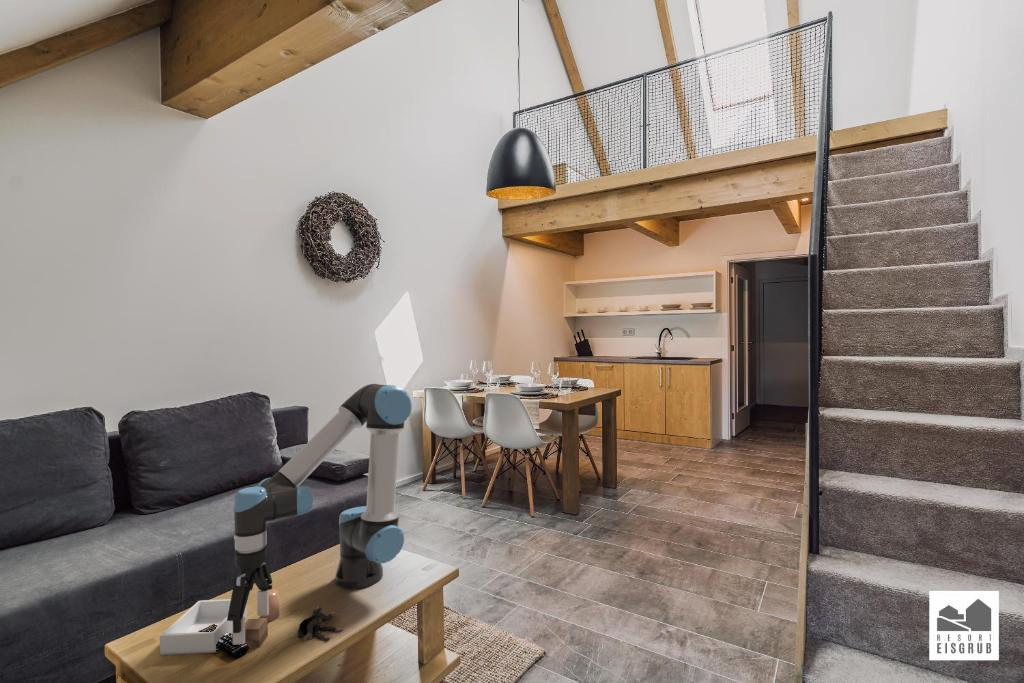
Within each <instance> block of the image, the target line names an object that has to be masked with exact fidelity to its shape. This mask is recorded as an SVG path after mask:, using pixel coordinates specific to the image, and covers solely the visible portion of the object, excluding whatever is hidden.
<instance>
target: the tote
mask: <svg viewBox="0 0 1024 683" xmlns="http://www.w3.org/2000/svg"><path fill="white" fill-rule="evenodd" d="M230 601H231V598H225V599H205V600H204V599H203V600H198V601H197V602H195V604H194V605H192V606H191V607H190V608H189V609H188V610H187V611H186V612H185V613H183V614H182V615H181V616H180V617H179V618H178V619H177V620H176V621H175V622H174V623H172V624H171V625H170V626H169V627H168V628H167V629H166V630H165V631H163V633H161V634H160V635H159V651H160V652H159V653H160V655H159V656H173V655H174V656H175V655H193V654H196V655H198V654H212V653H216V652H217V651H216V650H218V649H216V644H217V642H218V640H219V639H220V638H221V637H222V636H223V635H224V634H225V633H227V632H228V633H231V634H233V621H227V617H228V612H229V607H230ZM247 616H248V603H247V604H246V607H245V611H244V615H243V617H245V618H247ZM212 624H215V625H218V626H217V627H216V629H215V630H214V631H213V632H198V631H199V630H201V629H204V628H206V627H208V626H209V625H212Z"/></svg>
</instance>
